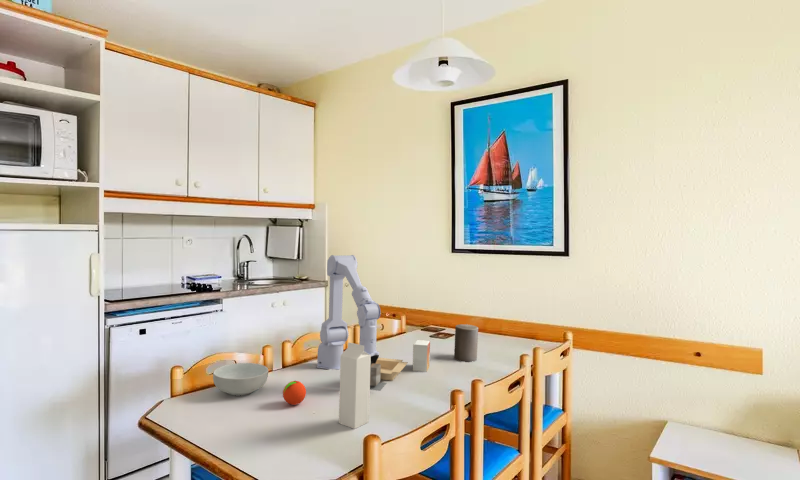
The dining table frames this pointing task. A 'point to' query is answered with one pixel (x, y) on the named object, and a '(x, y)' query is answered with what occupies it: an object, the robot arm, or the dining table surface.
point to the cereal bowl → (240, 378)
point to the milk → (354, 386)
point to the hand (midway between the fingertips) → (366, 378)
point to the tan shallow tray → (390, 367)
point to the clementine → (294, 392)
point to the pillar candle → (466, 343)
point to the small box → (421, 355)
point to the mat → (378, 386)
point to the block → (375, 374)
